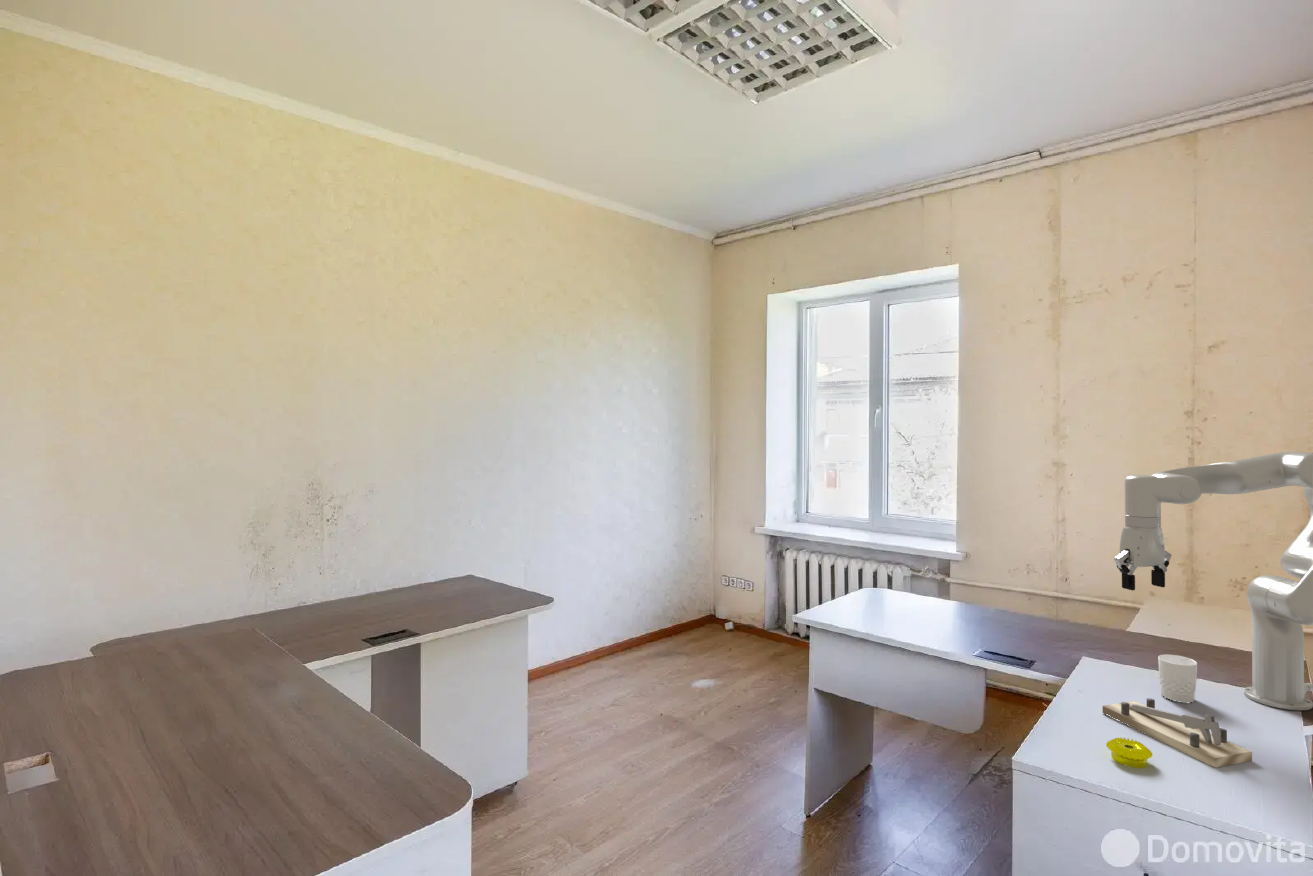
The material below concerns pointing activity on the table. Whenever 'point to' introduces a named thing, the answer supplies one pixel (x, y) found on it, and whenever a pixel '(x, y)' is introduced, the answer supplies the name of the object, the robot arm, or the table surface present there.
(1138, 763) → the gear
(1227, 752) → the tool rest
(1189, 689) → the white cup
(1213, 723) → the caliper
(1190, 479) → the robot arm
